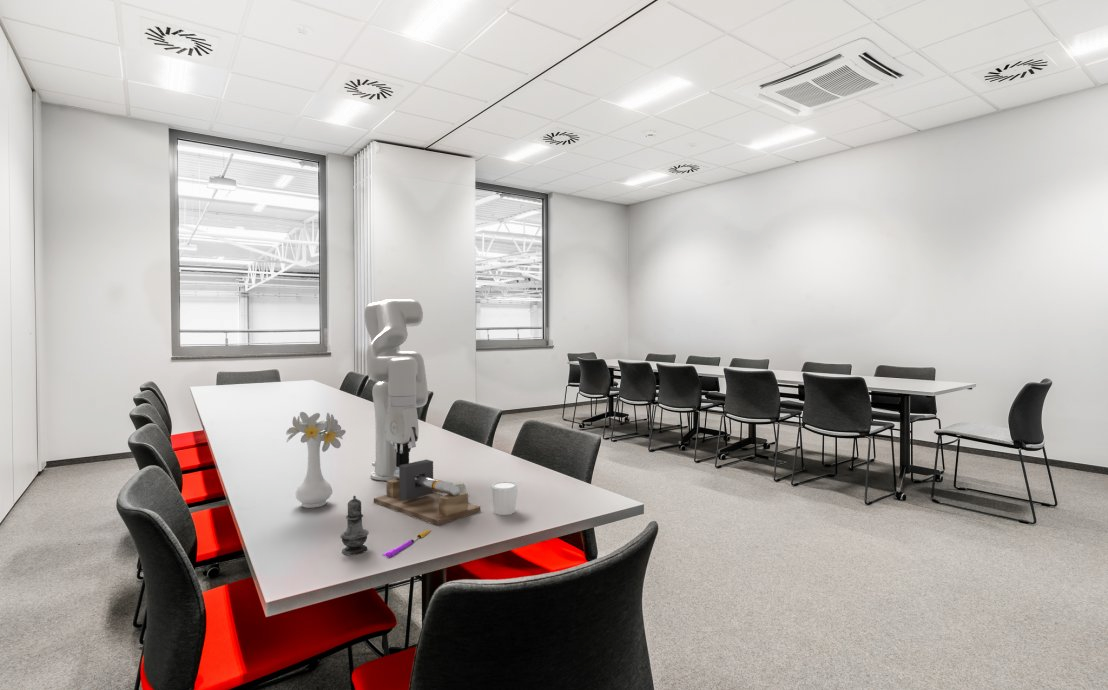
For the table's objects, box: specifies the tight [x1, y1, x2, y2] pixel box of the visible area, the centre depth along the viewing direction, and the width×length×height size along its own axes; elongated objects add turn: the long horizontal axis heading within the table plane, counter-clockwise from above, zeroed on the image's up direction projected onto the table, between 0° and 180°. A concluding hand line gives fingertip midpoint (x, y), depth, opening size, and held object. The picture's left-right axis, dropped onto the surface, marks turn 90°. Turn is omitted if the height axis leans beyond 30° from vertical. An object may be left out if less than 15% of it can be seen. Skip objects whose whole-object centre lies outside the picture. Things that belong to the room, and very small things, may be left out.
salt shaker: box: [339, 495, 370, 556], centre depth 118 cm, size 6×6×12 cm
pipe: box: [394, 470, 461, 496], centre depth 147 cm, size 26×3×3 cm, turn 51°
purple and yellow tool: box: [381, 529, 431, 558], centre depth 122 cm, size 3×1×16 cm
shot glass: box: [490, 481, 518, 516], centre depth 144 cm, size 7×7×7 cm
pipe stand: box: [373, 478, 481, 526], centre depth 147 cm, size 28×14×5 cm, turn 51°
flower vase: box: [285, 411, 346, 509], centre depth 148 cm, size 13×18×25 cm
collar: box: [399, 459, 434, 501], centre depth 150 cm, size 3×9×9 cm, turn 141°
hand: (402, 466), depth 154 cm, fingers closed
